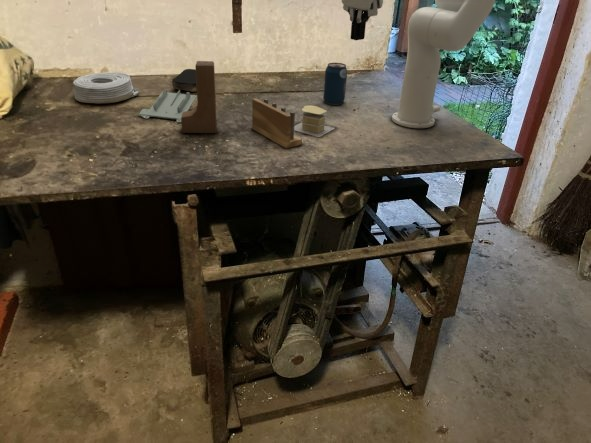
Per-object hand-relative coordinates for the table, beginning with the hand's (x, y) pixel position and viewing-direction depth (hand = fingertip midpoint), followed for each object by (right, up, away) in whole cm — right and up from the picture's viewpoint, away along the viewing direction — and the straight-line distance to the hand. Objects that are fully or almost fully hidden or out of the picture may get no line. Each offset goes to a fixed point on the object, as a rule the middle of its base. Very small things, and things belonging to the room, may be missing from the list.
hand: (357, 39), depth 118 cm
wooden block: (-41, -20, +13) cm, 48 cm away
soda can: (-3, -6, +40) cm, 40 cm away
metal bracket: (-51, -13, +24) cm, 58 cm away
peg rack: (-20, -22, +12) cm, 32 cm away
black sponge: (-51, +2, +48) cm, 70 cm away
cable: (-75, -6, +33) cm, 82 cm away
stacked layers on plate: (-10, -19, +18) cm, 28 cm away
